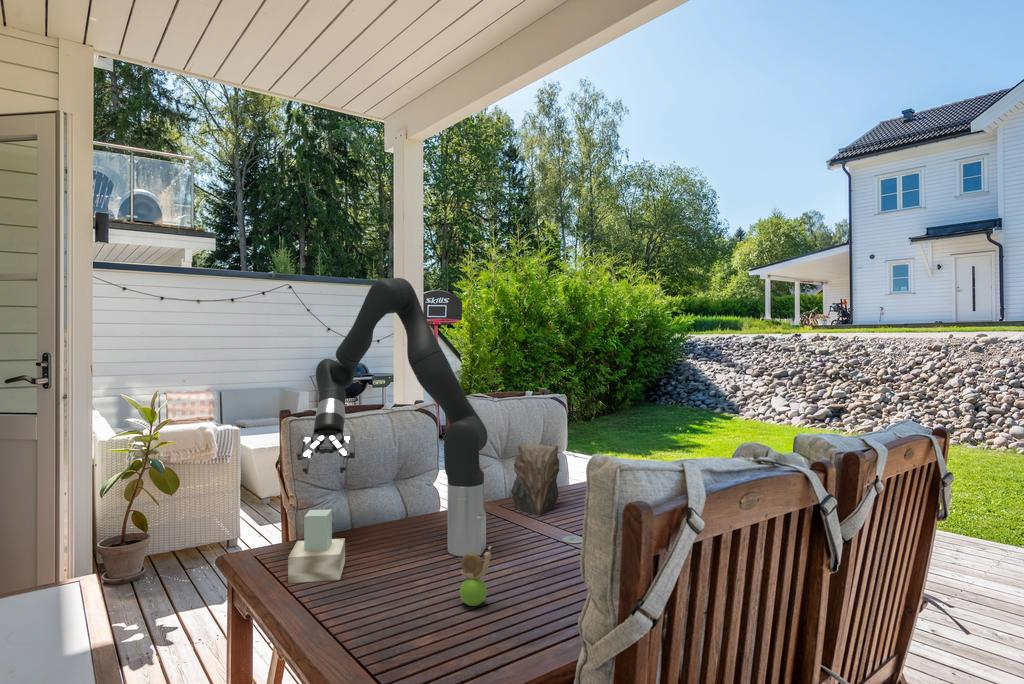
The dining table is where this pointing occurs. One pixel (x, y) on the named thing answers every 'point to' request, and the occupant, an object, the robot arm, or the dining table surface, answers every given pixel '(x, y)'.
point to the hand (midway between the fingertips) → (323, 471)
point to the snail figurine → (474, 578)
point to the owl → (536, 478)
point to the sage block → (317, 530)
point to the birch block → (316, 563)
